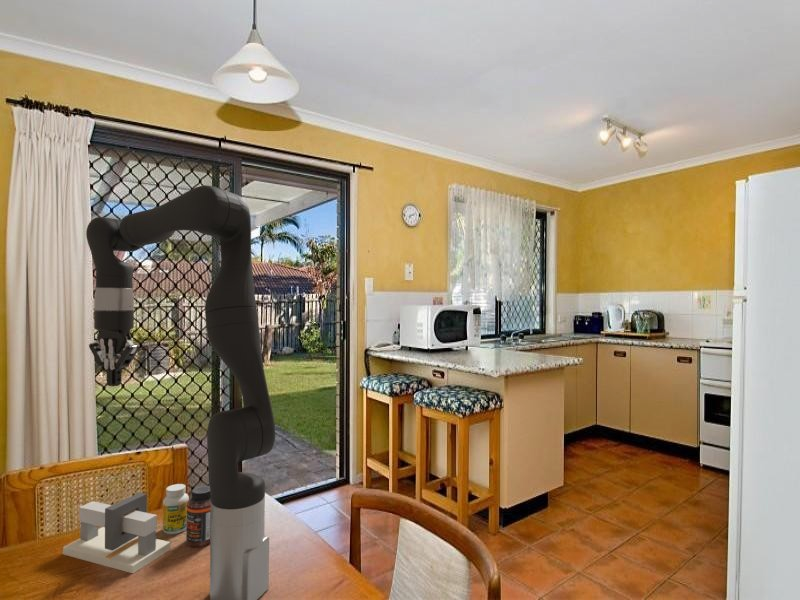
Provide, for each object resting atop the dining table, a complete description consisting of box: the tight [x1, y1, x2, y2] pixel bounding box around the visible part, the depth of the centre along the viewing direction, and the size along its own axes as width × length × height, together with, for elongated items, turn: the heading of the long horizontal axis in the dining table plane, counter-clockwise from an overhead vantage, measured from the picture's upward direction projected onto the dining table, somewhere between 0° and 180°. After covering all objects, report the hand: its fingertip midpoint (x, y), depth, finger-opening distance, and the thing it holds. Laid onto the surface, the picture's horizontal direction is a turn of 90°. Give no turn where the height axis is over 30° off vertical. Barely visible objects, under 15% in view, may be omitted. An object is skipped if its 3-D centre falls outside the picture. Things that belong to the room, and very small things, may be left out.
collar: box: [105, 492, 148, 550], centre depth 95 cm, size 2×8×8 cm, turn 161°
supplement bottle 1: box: [162, 483, 190, 535], centre depth 105 cm, size 5×5×10 cm
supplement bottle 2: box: [185, 485, 211, 547], centre depth 101 cm, size 6×6×11 cm
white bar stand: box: [62, 500, 171, 574], centre depth 96 cm, size 19×9×9 cm, turn 71°
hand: (113, 385), depth 103 cm, fingers closed
